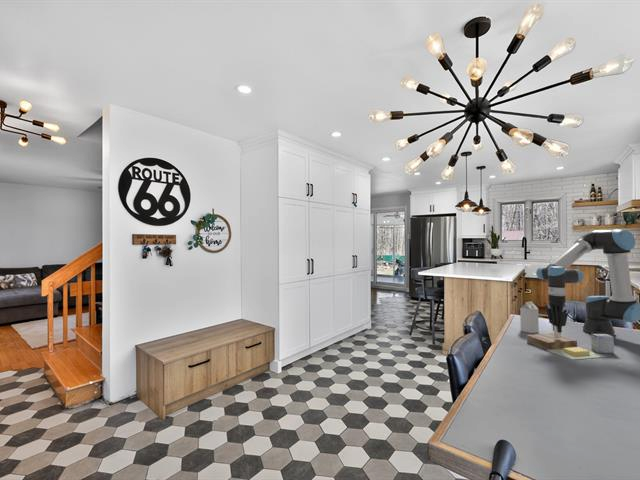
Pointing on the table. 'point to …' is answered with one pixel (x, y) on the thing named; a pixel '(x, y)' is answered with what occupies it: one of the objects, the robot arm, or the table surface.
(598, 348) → the medicine box
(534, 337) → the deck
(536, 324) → the milk carton
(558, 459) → the table surface
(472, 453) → the table surface
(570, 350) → the yellow sponge block
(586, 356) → the mat
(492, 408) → the table surface
